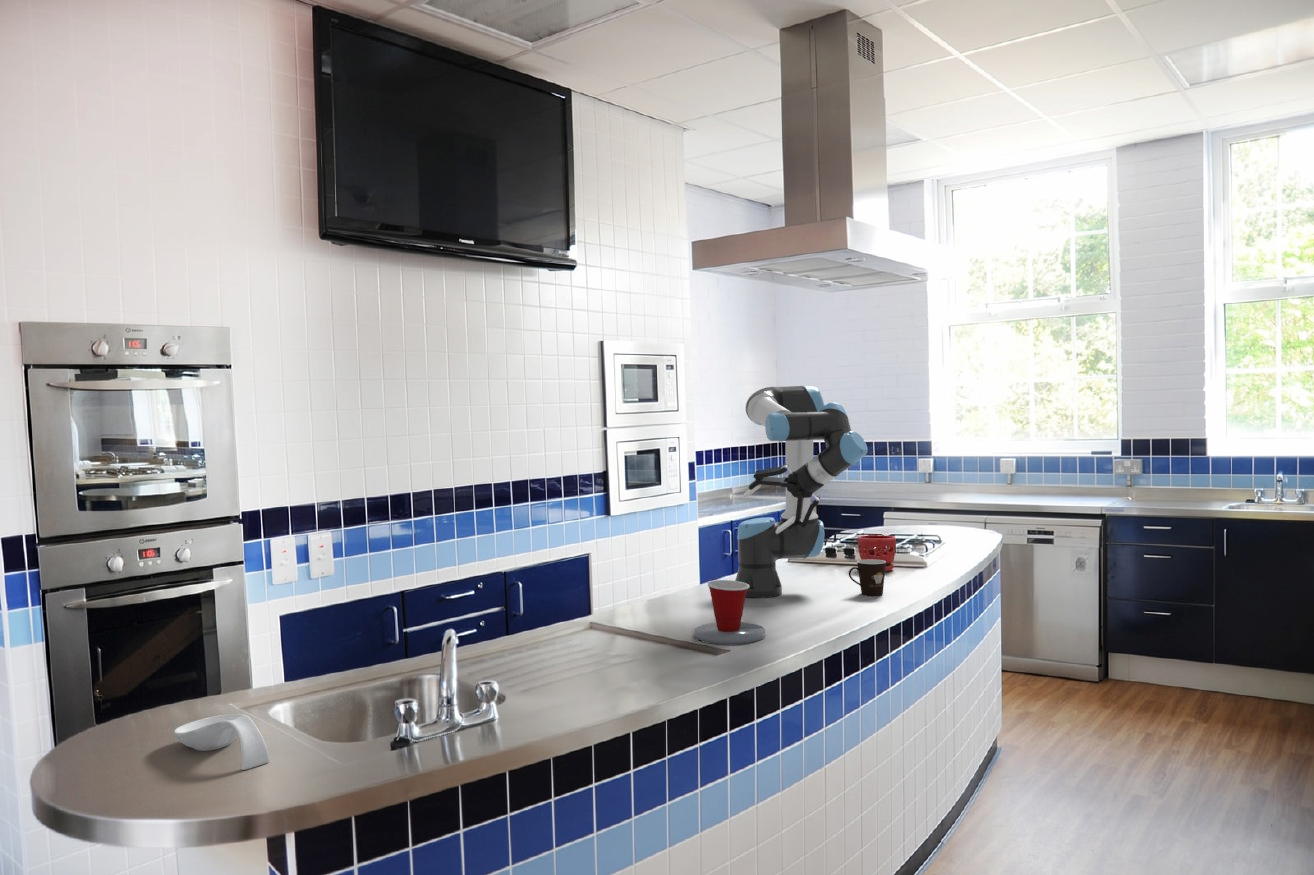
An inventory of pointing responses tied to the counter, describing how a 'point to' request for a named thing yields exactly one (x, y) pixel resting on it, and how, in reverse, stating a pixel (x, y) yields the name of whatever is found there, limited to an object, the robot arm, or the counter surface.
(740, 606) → the plastic cup
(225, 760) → the counter surface
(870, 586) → the coffee mug
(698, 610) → the counter surface
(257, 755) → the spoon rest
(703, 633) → the gray round coaster
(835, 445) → the robot arm
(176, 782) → the counter surface
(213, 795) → the counter surface
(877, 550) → the plant pot
